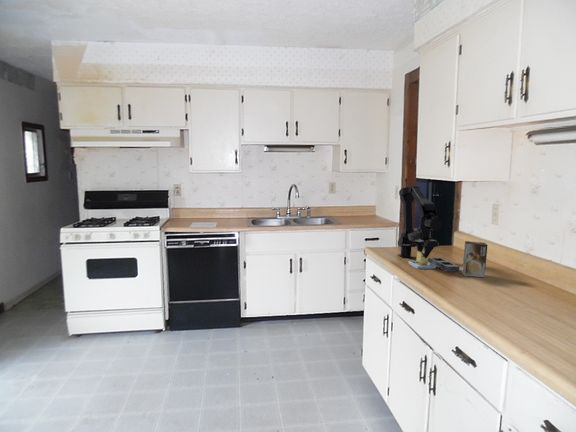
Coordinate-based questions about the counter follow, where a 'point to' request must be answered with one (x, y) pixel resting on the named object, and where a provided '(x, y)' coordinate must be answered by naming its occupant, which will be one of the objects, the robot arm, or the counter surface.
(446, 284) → the counter surface
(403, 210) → the robot arm
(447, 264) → the plate with rectangular hole
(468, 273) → the coffee box
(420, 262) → the brushed brass block
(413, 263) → the tray
